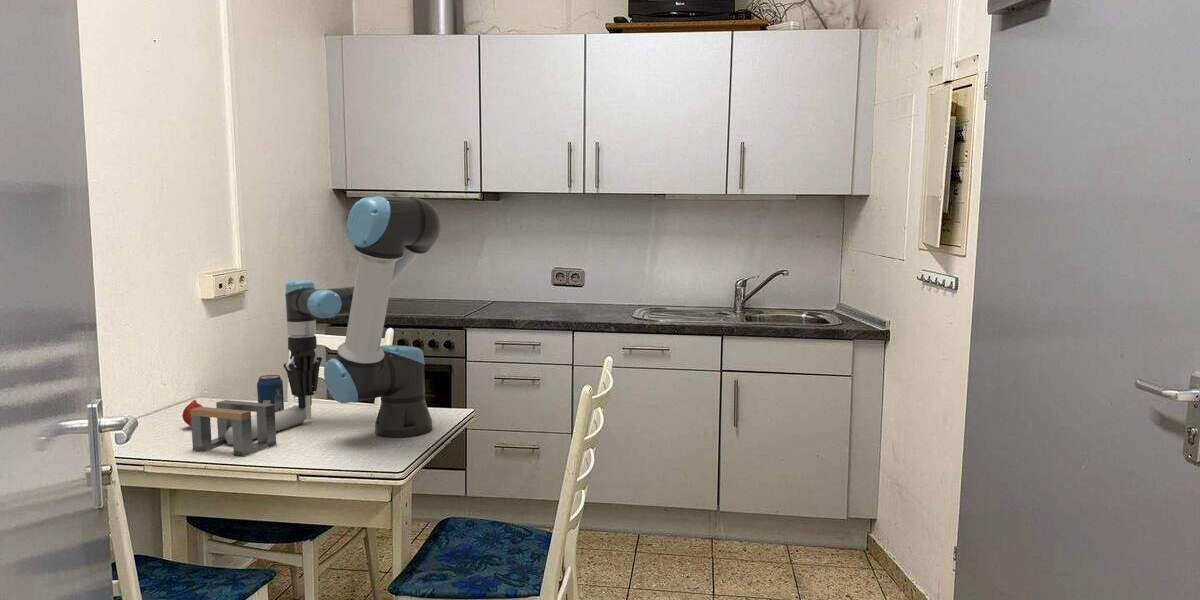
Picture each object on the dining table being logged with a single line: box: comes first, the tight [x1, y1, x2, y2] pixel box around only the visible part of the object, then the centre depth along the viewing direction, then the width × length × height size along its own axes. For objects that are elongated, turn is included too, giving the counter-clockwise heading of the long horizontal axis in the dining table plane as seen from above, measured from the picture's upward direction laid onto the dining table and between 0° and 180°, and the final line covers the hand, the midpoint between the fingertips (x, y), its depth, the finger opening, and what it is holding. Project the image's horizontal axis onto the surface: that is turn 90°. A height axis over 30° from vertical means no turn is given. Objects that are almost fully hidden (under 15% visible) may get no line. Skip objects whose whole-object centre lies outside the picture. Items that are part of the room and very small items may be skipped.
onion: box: [182, 399, 204, 428], centre depth 219 cm, size 6×6×8 cm
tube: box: [225, 405, 307, 446], centre depth 212 cm, size 5×5×25 cm
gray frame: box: [190, 399, 277, 457], centre depth 199 cm, size 16×11×10 cm
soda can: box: [256, 374, 285, 412], centre depth 231 cm, size 7×7×12 cm
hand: (305, 418), depth 223 cm, fingers closed
